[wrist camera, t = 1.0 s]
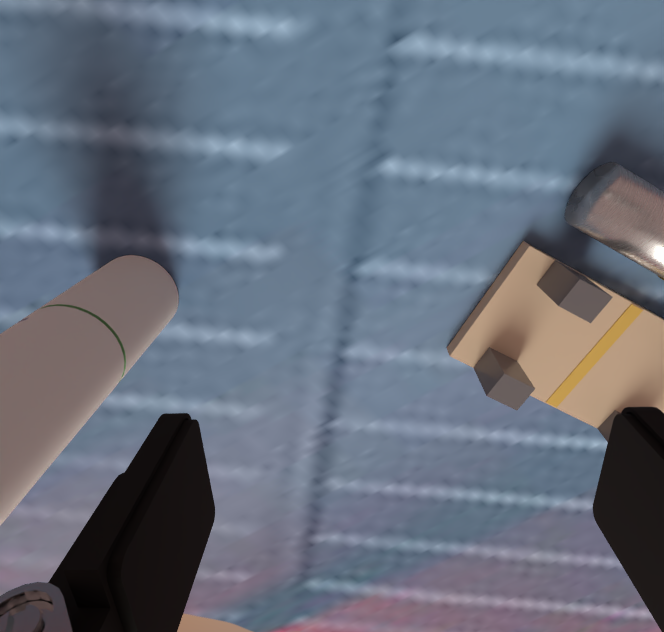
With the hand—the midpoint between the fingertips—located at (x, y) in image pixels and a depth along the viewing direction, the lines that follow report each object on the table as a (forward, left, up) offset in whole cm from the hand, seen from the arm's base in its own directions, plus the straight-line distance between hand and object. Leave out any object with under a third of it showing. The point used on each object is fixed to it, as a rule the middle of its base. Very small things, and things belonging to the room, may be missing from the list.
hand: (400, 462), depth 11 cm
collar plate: (+2, +24, -30) cm, 38 cm away
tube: (-9, +24, -29) cm, 39 cm away
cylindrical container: (+16, -14, -30) cm, 37 cm away
